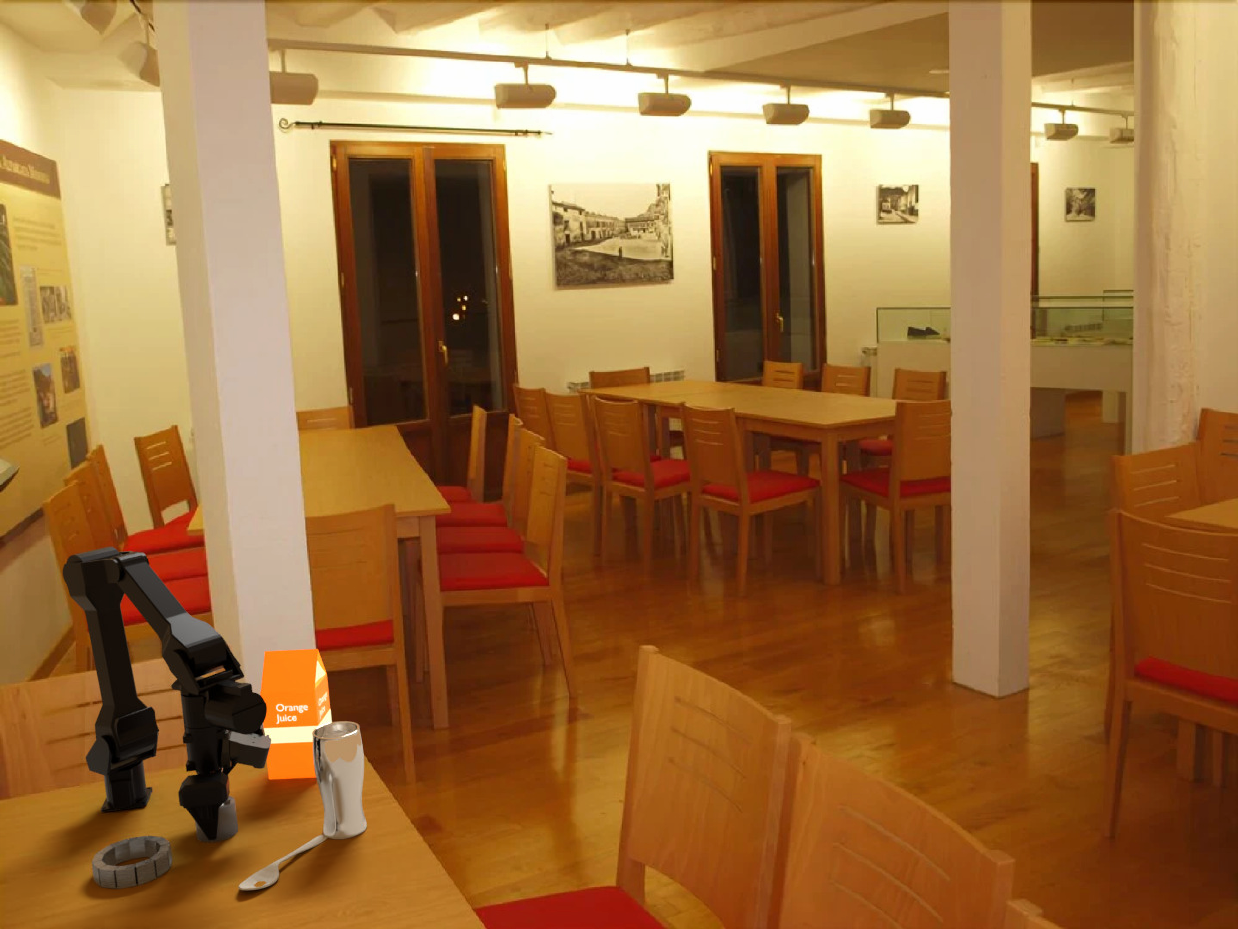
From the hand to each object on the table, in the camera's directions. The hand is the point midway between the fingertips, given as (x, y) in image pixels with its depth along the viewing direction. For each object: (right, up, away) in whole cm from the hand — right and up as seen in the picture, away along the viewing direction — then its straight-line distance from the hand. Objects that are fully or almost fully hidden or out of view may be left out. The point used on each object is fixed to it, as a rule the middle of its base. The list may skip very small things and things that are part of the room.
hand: (216, 825), depth 166 cm
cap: (0, -1, 0) cm, 1 cm away
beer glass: (+19, -1, -1) cm, 19 cm away
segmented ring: (-8, -3, -10) cm, 13 cm away
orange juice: (+6, +2, +22) cm, 23 cm away
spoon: (+13, -3, -9) cm, 16 cm away
